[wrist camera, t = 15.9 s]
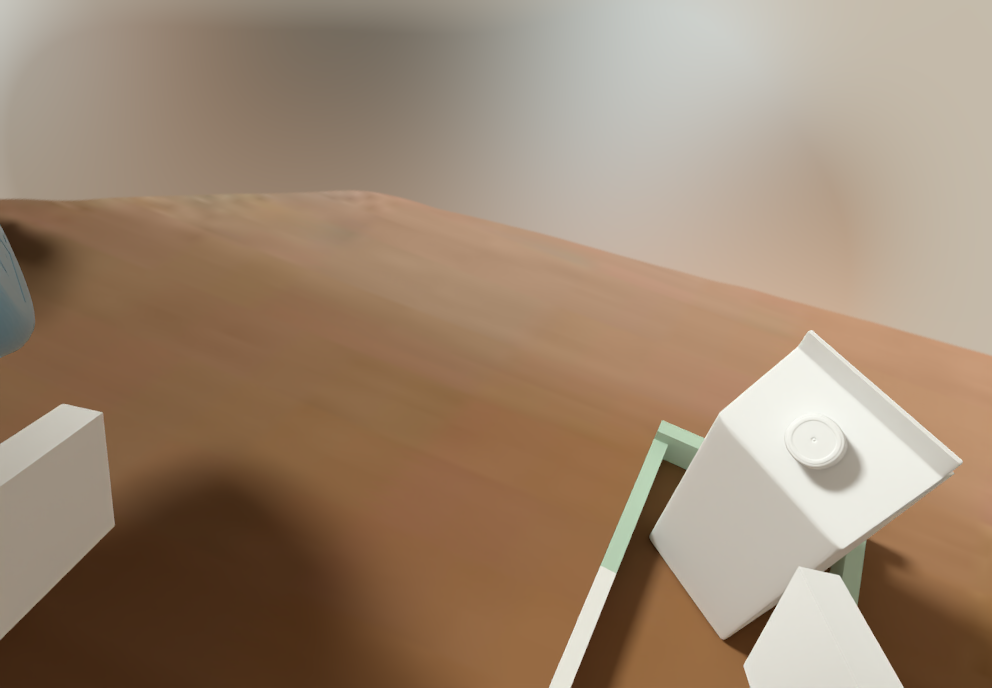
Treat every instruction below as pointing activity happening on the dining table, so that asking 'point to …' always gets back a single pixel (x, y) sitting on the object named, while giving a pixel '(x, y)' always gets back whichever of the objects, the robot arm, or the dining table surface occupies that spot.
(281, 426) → the dining table surface
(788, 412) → the milk carton
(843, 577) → the trap lane
